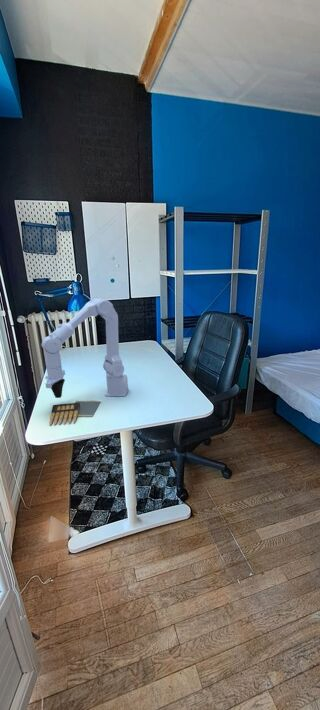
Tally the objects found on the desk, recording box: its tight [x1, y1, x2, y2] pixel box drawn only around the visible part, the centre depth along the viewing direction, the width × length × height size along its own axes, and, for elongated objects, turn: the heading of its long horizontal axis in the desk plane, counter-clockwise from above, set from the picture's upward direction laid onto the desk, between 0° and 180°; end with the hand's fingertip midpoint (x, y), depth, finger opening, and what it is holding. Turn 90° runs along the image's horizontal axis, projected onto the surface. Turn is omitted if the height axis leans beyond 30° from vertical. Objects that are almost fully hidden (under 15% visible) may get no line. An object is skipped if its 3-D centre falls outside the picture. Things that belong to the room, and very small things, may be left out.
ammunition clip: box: [48, 402, 80, 426], centre depth 117 cm, size 11×2×12 cm
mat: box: [68, 400, 101, 418], centre depth 124 cm, size 11×13×1 cm
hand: (58, 397), depth 123 cm, fingers closed
